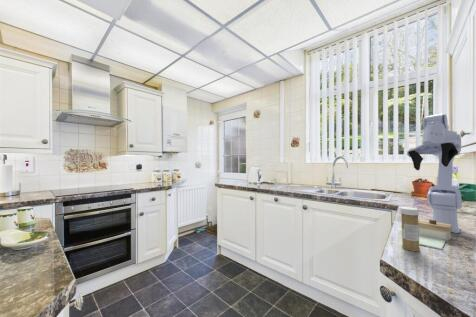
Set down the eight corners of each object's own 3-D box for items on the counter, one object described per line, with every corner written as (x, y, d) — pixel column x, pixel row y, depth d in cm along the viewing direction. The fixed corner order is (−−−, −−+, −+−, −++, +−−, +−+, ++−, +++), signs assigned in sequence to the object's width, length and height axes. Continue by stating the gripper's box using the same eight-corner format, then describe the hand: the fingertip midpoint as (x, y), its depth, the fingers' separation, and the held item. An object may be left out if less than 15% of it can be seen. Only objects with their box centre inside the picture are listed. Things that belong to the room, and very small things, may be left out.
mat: (419, 236, 76) (419, 235, 76) (445, 241, 71) (445, 240, 71) (413, 243, 69) (413, 242, 69) (441, 249, 64) (441, 248, 64)
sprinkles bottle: (403, 245, 68) (402, 206, 69) (421, 249, 65) (419, 208, 65) (400, 248, 65) (398, 207, 66) (419, 253, 62) (417, 210, 62)
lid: (418, 224, 81) (417, 216, 81) (451, 229, 74) (451, 221, 74) (415, 227, 78) (415, 218, 78) (450, 233, 71) (449, 224, 71)
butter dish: (419, 232, 81) (419, 224, 81) (450, 237, 74) (450, 229, 74) (417, 234, 78) (416, 227, 78) (449, 241, 71) (448, 232, 71)
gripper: (404, 137, 80) (399, 163, 74) (453, 124, 67) (452, 154, 61) (414, 148, 81) (410, 174, 75) (464, 137, 68) (464, 168, 63)
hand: (429, 166), depth 68 cm, fingers open, 7 cm apart
